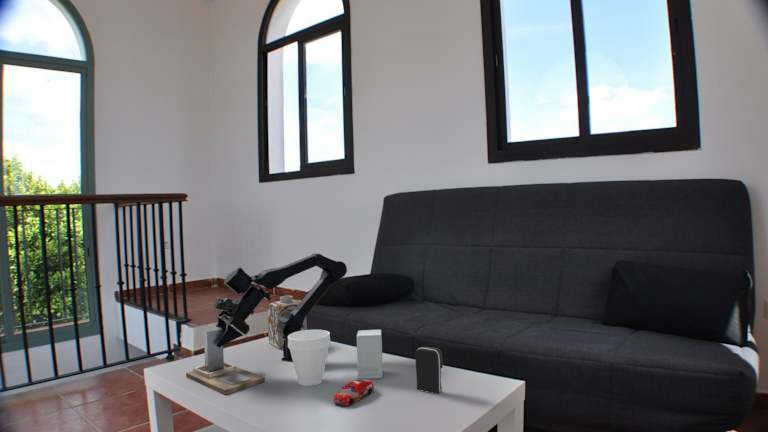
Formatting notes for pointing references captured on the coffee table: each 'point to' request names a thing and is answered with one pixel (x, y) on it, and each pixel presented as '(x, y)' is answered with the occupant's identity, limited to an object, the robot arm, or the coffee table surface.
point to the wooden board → (225, 378)
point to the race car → (354, 392)
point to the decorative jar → (276, 312)
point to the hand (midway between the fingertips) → (213, 343)
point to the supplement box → (369, 354)
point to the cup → (309, 354)
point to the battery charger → (429, 369)
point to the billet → (213, 350)
